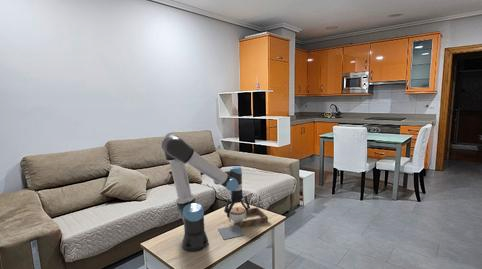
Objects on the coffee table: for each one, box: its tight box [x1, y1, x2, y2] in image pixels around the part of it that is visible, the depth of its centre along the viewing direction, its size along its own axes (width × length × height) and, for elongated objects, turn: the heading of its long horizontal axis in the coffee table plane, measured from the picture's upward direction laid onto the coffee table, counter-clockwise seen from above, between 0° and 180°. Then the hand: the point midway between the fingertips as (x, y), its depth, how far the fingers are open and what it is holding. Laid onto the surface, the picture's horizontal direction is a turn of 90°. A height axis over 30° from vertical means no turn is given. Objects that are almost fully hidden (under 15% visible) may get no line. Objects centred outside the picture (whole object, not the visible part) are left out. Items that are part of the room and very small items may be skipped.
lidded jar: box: [230, 206, 245, 224], centre depth 185 cm, size 11×11×9 cm
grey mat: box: [217, 224, 246, 241], centre depth 173 cm, size 14×14×1 cm
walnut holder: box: [239, 207, 269, 229], centre depth 189 cm, size 20×17×4 cm
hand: (237, 220), depth 186 cm, fingers closed on lidded jar, 11 cm apart
